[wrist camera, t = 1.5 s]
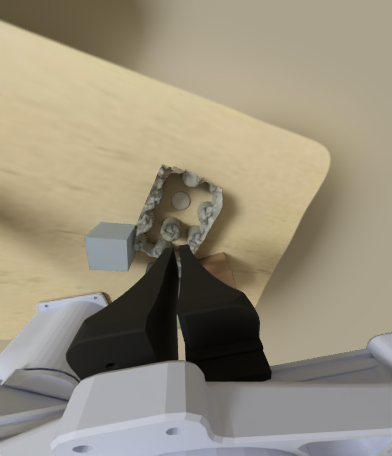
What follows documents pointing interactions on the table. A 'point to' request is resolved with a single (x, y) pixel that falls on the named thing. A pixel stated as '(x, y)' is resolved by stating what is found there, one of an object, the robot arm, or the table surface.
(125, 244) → the slate-blue block
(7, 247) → the table surface
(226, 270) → the walnut block
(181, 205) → the egg carton
